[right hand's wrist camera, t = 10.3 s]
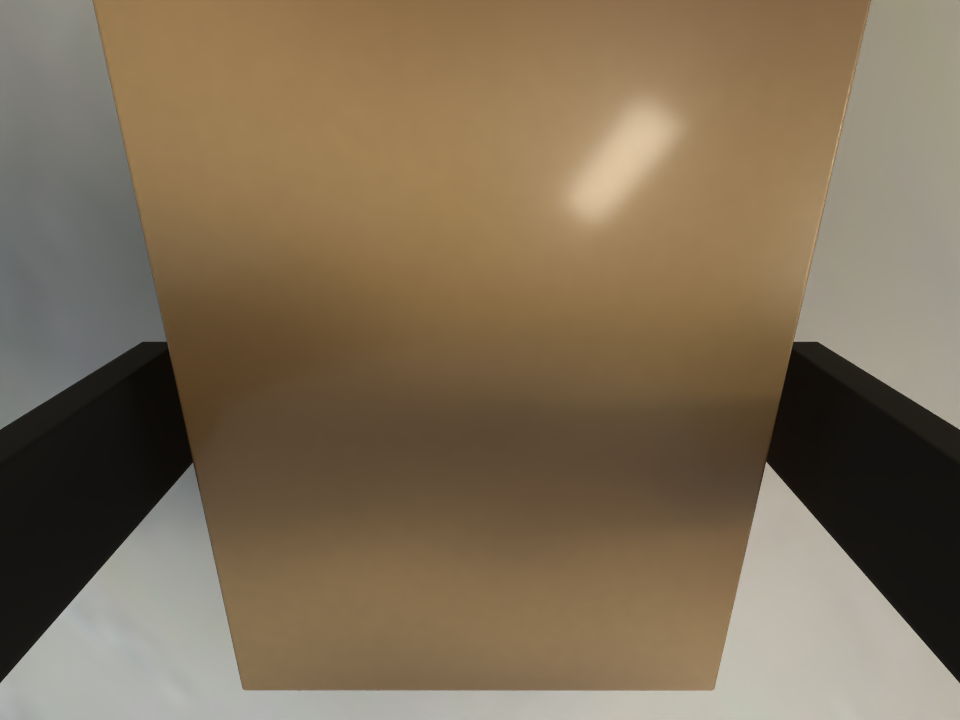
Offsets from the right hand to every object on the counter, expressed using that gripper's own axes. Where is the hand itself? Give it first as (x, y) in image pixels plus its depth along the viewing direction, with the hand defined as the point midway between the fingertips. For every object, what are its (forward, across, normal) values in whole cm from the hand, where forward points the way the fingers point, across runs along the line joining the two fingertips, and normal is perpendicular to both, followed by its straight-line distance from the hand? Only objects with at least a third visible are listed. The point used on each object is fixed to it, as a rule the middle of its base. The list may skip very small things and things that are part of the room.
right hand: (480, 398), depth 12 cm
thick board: (+3, 0, -26) cm, 26 cm away
